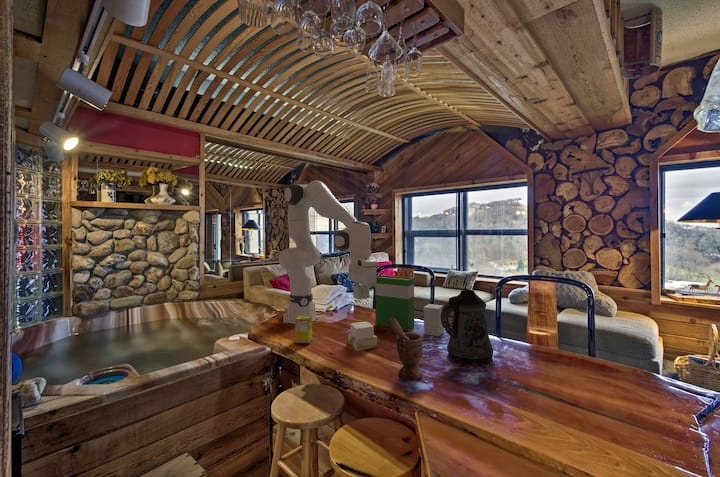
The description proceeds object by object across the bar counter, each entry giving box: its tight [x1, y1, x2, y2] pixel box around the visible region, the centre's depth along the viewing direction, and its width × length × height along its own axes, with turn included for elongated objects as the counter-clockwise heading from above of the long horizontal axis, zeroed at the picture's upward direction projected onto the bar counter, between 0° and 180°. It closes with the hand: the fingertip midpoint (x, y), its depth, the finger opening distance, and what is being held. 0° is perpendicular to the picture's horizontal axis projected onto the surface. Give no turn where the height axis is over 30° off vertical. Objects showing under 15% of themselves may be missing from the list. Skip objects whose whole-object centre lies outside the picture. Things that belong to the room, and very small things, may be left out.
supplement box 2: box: [422, 303, 445, 337], centre depth 146 cm, size 7×7×13 cm
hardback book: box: [375, 274, 415, 331], centre depth 158 cm, size 18×7×24 cm, turn 59°
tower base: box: [347, 332, 378, 351], centre depth 132 cm, size 9×9×4 cm
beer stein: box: [440, 289, 494, 366], centre depth 118 cm, size 16×19×25 cm
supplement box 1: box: [294, 315, 313, 345], centre depth 136 cm, size 6×6×11 cm
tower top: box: [350, 321, 375, 340], centre depth 132 cm, size 8×8×4 cm
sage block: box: [352, 284, 371, 300], centre depth 132 cm, size 5×5×5 cm
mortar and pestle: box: [388, 317, 424, 381], centre depth 103 cm, size 12×9×20 cm
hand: (361, 293), depth 132 cm, fingers closed on sage block, 5 cm apart
